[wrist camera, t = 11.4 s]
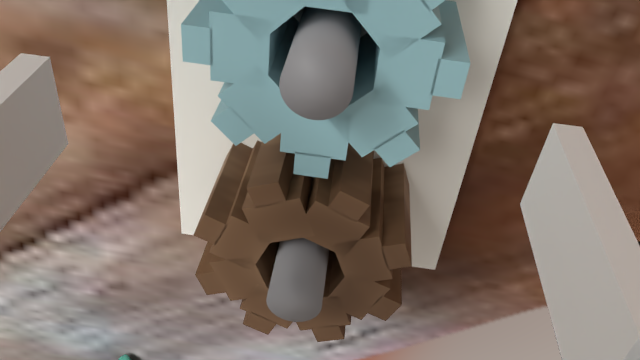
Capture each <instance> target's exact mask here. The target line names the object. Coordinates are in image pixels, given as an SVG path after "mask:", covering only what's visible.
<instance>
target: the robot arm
mask: <svg viewBox="0 0 640 360" xmlns="http://www.w3.org/2000/svg"><path fill="white" fill-rule="evenodd" d="M67 145H68V140H67V135H66V131H65V126H64V121H63V117H62V112H61V107H60V103H59V98H58V93H57V89H56V84H55V79H54V75H53V70H52V65H51V61H50V57H46V56H38V55H30V54H23V53H21V54H19V55H18V56H17V57H16V58H15V59H14V60H13V61H12V62H10V63H9V64H8V65H7V66H6V67H5V68H4V69H2V70H1V71H0V231H1V230H2V229H3V227H4V226H5V225H6V224H7V222H8V221H9V220H10V218H11V217H12V216H13V215H14V213H15V212H16V211H17V209H18V208H19V207H20V205H21V204H22V203H23V202H24V200H25V199H26V198H27V196H28V195H29V194H30V193H31V191H32V190H33V189H34V187H35V186H36V185H37V183H38V182H39V181H40V180H41V178H42V177H43V176H44V174H45V173H46V172H47V171H48V169H49V168H50V167H51V165H52V164H53V163H54V161H55V160H56V159H57V158H58V156H59V155H60V154H61V152H62V151H63V150H64V149H65V147H66V146H67ZM520 206H521V210H522V213H523V217H524V221H525V225H526V228H527V232H528V236H529V239H530V243H531V247H532V251H533V254H534V258H535V262H536V265H537V269H538V273H539V277H540V280H541V284H542V288H543V291H544V295H545V299H546V303H547V306H548V310H549V314H550V317H551V321H552V325H553V329H554V332H555V336H556V340H557V343H558V347H559V351H560V355H561V358H562V360H640V242H639V241H637V239H636V237H635V235H634V233H633V231H632V229H631V227H630V225H629V223H628V221H627V219H626V216H625V214H624V212H623V210H622V208H621V206H620V204H619V202H618V200H617V198H616V195H615V193H614V191H613V189H612V187H611V185H610V183H609V181H608V179H607V177H606V175H605V172H604V170H603V168H602V166H601V164H600V162H599V160H598V158H597V156H596V154H595V152H594V149H593V147H592V145H591V143H590V141H589V139H588V137H587V135H586V133H585V131H584V128H583V127H579V126H571V125H563V124H556V123H553V124H552V127H551V129H550V132H549V134H548V137H547V139H546V141H545V144H544V146H543V149H542V151H541V154H540V156H539V159H538V161H537V164H536V166H535V169H534V171H533V173H532V176H531V178H530V181H529V183H528V186H527V188H526V191H525V193H524V196H523V198H522V200H521V203H520Z"/></svg>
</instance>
